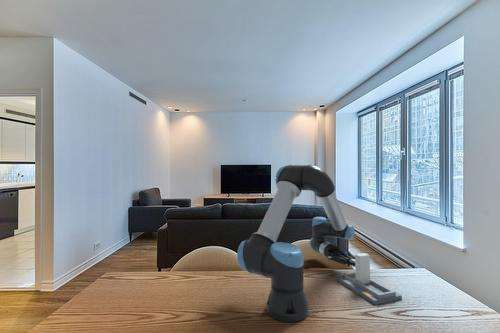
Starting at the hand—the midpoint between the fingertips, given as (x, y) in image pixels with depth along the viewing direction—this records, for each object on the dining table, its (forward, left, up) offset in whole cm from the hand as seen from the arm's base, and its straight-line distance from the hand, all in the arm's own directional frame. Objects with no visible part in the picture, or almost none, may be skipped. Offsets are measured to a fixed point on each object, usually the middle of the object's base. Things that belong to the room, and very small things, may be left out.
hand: (361, 266), depth 120 cm
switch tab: (+1, -2, -6) cm, 6 cm away
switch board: (+4, -3, -8) cm, 9 cm away
